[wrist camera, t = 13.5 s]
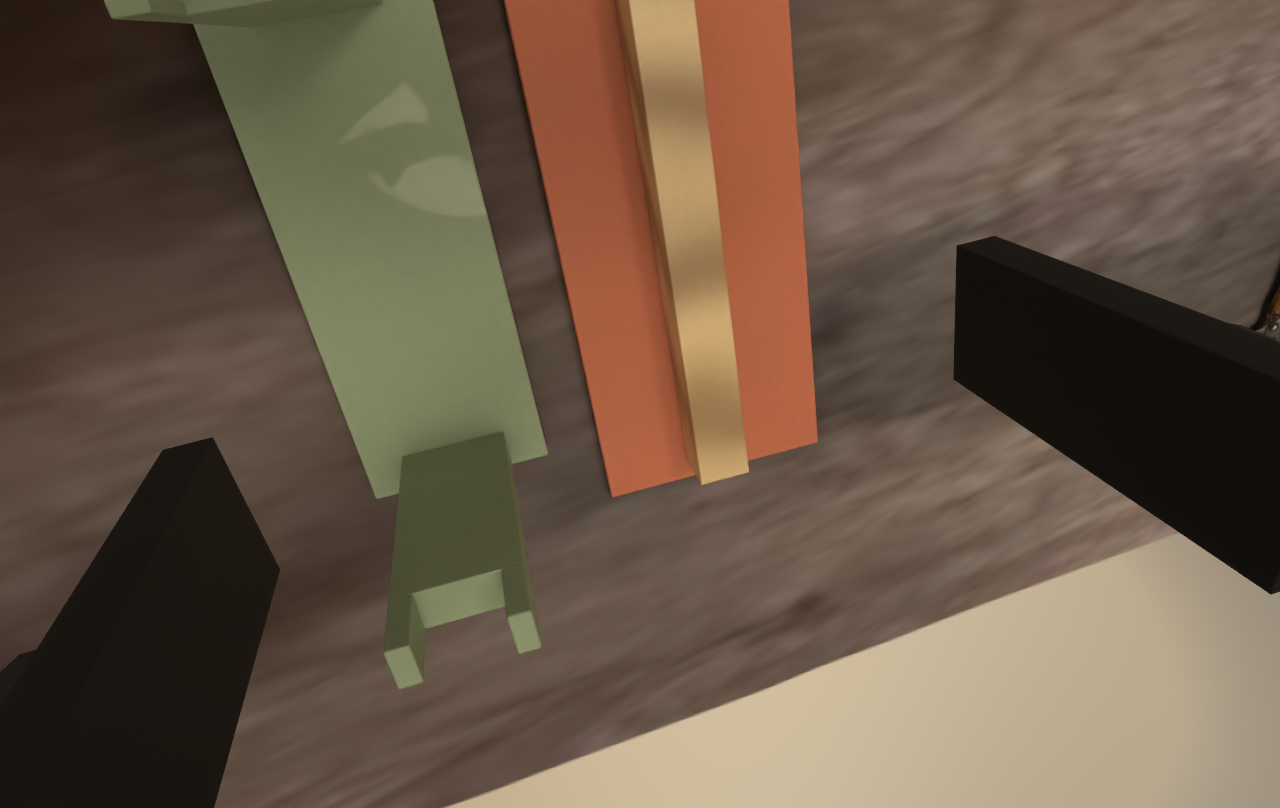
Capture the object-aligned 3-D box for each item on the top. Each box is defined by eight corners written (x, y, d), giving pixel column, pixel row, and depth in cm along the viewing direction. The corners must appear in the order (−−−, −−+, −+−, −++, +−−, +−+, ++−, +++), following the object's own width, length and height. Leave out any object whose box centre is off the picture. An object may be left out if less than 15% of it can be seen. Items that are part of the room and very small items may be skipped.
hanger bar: (607, -43, 28) (620, -50, 26) (669, -54, 29) (687, -61, 27) (687, 461, 38) (701, 485, 36) (732, 449, 39) (749, 472, 37)
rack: (183, -21, 26) (-31, -71, 14) (417, -60, 27) (398, -136, 15) (378, 488, 36) (345, 711, 24) (546, 445, 37) (595, 637, 25)
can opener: (1300, 220, 41) (1322, 225, 40) (1331, 227, 42) (1353, 231, 41) (1219, 374, 45) (1237, 382, 44) (1249, 378, 46) (1267, 386, 44)
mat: (490, -56, 28) (491, -57, 27) (776, -104, 29) (782, -107, 29) (609, 491, 39) (611, 498, 38) (813, 437, 40) (818, 442, 40)
